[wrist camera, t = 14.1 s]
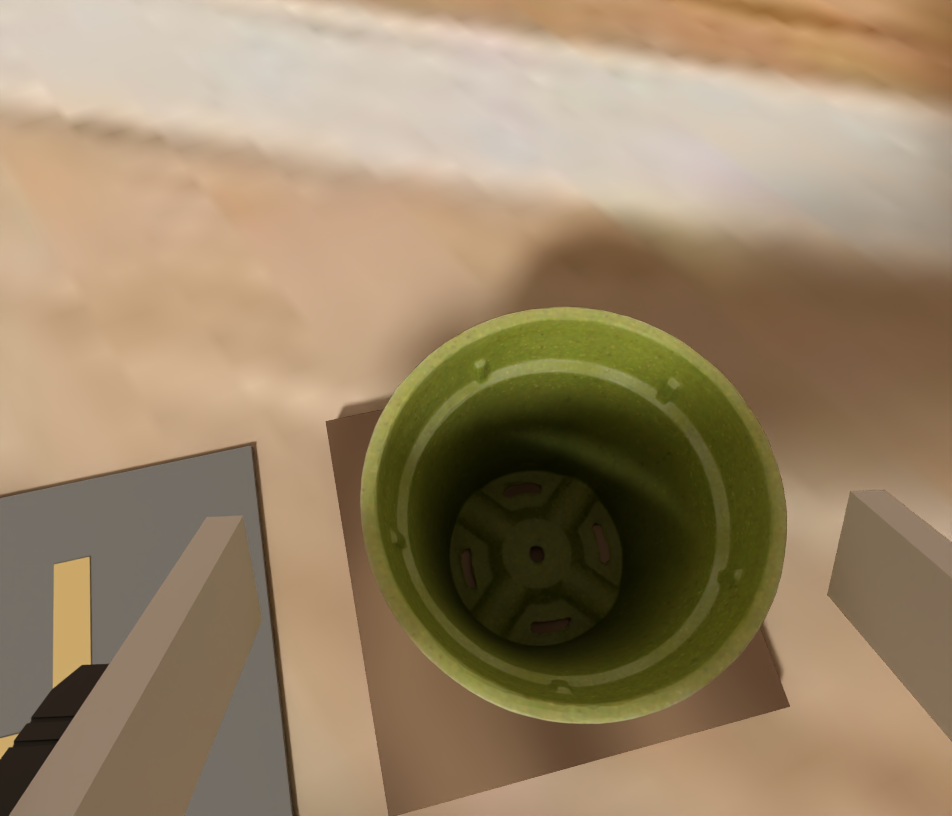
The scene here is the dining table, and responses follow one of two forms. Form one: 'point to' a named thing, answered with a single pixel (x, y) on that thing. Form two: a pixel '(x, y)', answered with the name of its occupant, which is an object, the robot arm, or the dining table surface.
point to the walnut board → (478, 721)
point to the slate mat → (136, 606)
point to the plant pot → (574, 514)
